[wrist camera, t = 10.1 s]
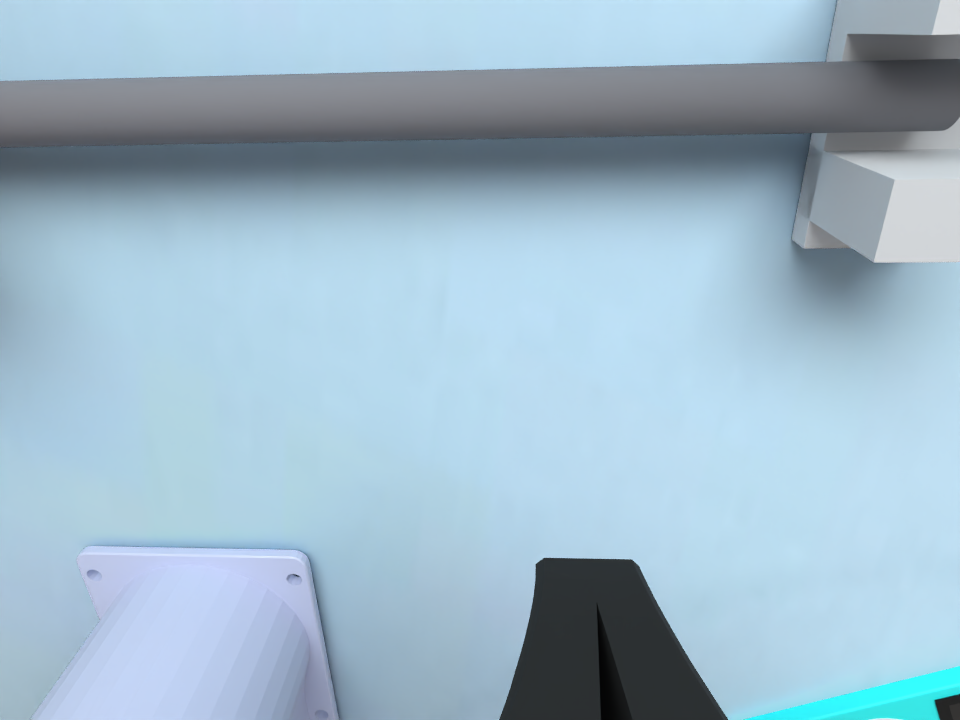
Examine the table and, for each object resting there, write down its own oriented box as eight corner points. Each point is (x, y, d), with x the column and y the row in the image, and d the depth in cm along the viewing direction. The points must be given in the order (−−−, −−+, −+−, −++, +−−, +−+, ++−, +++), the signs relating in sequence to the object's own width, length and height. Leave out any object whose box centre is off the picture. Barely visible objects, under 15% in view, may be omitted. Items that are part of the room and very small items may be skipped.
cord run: (1006, -96, 13) (1182, -141, 10) (913, 238, 17) (1021, 295, 13) (-586, -39, 16) (-915, -58, 12) (-401, 249, 19) (-618, 301, 15)
